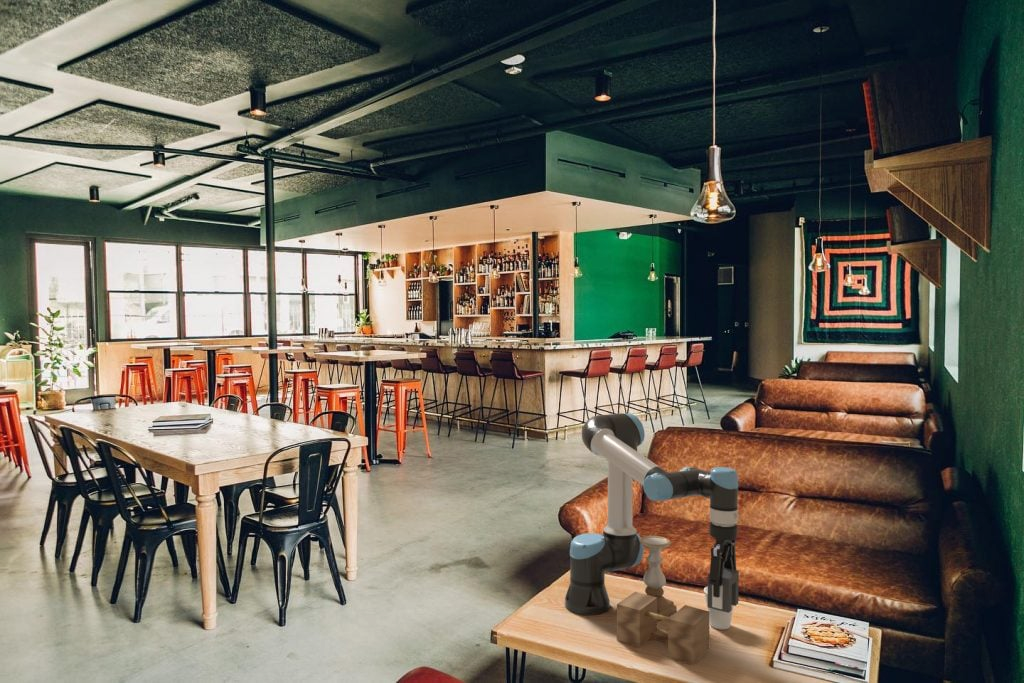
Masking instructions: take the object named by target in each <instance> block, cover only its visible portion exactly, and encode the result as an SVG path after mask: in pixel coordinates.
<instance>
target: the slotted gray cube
mask: <svg viewBox="0 0 1024 683" xmlns="http://www.w3.org/2000/svg"><path fill="white" fill-rule="evenodd" d="M739 575H740V574H739V570H737V569H736V570H733V569H729V568H724V570H723V577H722V585H723V609H718V608H715V607H712V584H709V578H710V572H709V573H707V586H708V604H707V603H706V607H708V608H712V609H716V610H719V611H723V612H727V613H729V612H730V611H731V610H732V605H733V607H736V606H737V605H738V604H739V583H740V582H739V578H740V577H739Z"/></svg>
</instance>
